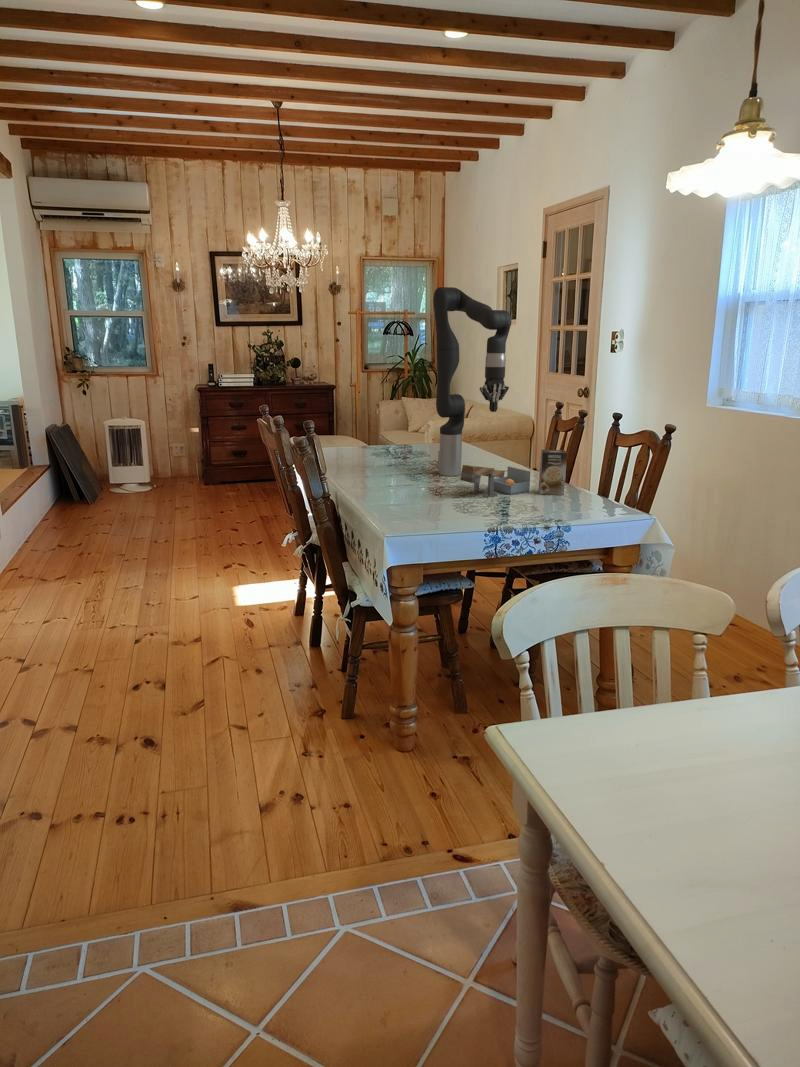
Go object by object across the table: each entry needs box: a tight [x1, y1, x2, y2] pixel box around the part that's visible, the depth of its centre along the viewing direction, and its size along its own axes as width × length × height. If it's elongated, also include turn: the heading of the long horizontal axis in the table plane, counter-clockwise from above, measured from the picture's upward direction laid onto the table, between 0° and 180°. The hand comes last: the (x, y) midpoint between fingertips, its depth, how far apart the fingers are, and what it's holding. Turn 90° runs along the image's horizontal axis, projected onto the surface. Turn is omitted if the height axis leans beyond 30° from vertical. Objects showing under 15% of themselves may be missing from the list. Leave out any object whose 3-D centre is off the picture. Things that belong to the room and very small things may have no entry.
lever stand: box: [469, 473, 498, 499], centre depth 276 cm, size 5×11×9 cm, turn 33°
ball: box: [504, 479, 515, 485], centre depth 283 cm, size 4×4×4 cm
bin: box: [493, 465, 531, 496], centre depth 283 cm, size 9×12×8 cm
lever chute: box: [460, 464, 506, 485], centre depth 279 cm, size 15×15×6 cm
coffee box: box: [538, 449, 568, 496], centre depth 278 cm, size 9×6×16 cm
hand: (493, 411), depth 285 cm, fingers closed
